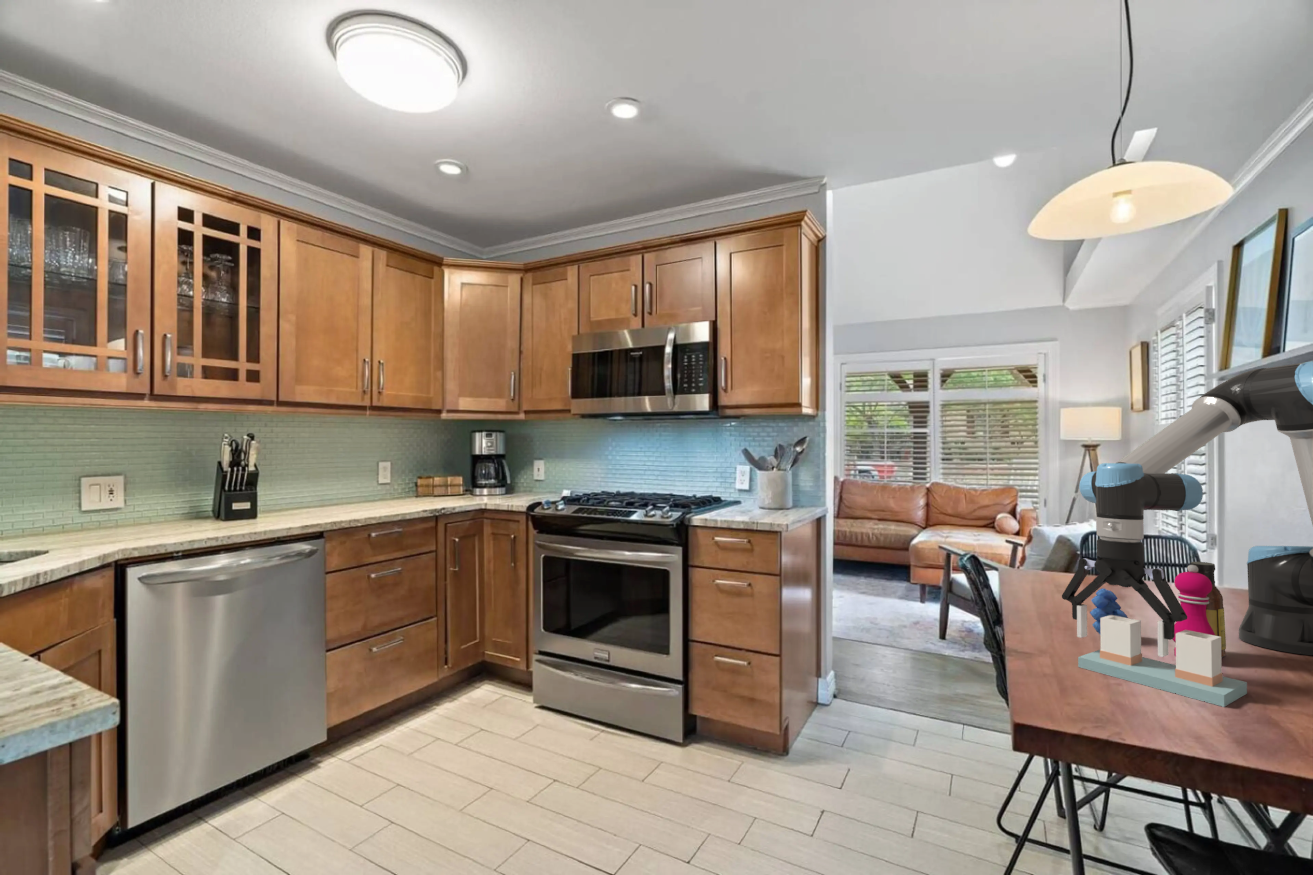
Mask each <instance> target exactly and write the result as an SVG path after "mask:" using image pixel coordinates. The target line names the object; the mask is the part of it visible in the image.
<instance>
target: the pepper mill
mask: <svg viewBox="0 0 1313 875" xmlns="http://www.w3.org/2000/svg"><path fill="white" fill-rule="evenodd" d="M1197 572H1198V567H1197V566H1195V565H1190V564H1188V566H1187V571H1183V572H1180V573H1178V574H1177V575H1176V576H1175V578H1174V582H1173V583H1174V587H1175V588H1176V589H1177V590H1178V592H1179V593H1177V600H1178V601H1180V602H1179V603H1180V605H1181V606H1182V608H1183V610H1184V612H1185V613H1186V615H1187V619H1186V620H1183V621H1180V622H1179V621H1178V622H1175V624H1174V628H1175V633H1174V634H1175V637H1174V638H1173V639H1172V641H1173V642H1174V643H1175V644H1176V633H1178V632H1181V631H1184V630H1190V631H1195V632H1200V633H1205V634H1210V635H1215V633H1214V631H1213V629H1212V628H1211V626H1210V624H1209V622H1208V619H1207V616H1206V606H1207V604H1209V602H1208V601H1209V600H1208V599H1209V597H1207V595H1208V594H1209V593H1210V592H1211V590H1212V583H1211V581H1210V579H1209V578H1208V577H1206V576H1205V575H1203V574H1200V573H1197ZM1173 650H1174V656H1175V658H1176V646H1175V647H1174V649H1173Z"/></svg>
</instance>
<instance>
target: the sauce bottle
mask: <svg viewBox="0 0 1313 875" xmlns="http://www.w3.org/2000/svg"><path fill="white" fill-rule="evenodd" d="M1189 565H1195V566H1197V567H1198V572H1197V573H1200V574H1203V575H1205V576H1206V577H1208V578H1209V579H1210V581H1211V583H1212V590H1211V592H1210V593H1209V594H1208V595H1207V597H1209V599H1208V600H1209V601H1208V602H1209V604H1207V606H1206V616H1207V619H1208V622H1209V624H1210V626H1211V628H1212V629H1213V631H1214V633H1215V636H1220V637H1221V658H1224V657H1226V654H1227V653H1226V649H1227V641H1226V640H1227V638H1226V622H1225V607H1224V598H1223V594H1222V593H1221V591H1220V590H1219V589H1218V587H1217V586H1216V580H1215V579H1216V578H1215V571H1216V565H1215V563H1212V562H1206V561H1191V562H1190V564H1189Z"/></svg>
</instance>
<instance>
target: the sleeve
mask: <svg viewBox="0 0 1313 875" xmlns="http://www.w3.org/2000/svg"><path fill="white" fill-rule="evenodd" d="M1100 632H1101V636H1100V649H1101V650H1100V649H1099V650H1100V658H1103V659H1107V660H1111V661H1115V662H1119V663H1122V664H1126V665H1130V666H1131V665H1134V664H1136V663H1139V662H1142V657H1143V653H1142V620H1139V619H1136V618H1135V619H1134V618H1129V617H1128V618H1125V617H1120V616H1115V615H1109V616H1105V617H1102V618H1100Z"/></svg>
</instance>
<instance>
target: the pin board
mask: <svg viewBox="0 0 1313 875" xmlns="http://www.w3.org/2000/svg"><path fill="white" fill-rule="evenodd" d="M1100 650H1101V648H1100V649H1098V650H1094V651H1092V652H1088V653H1086V654H1082V655H1080V656H1078V657H1077V658H1078V660H1077V662H1078V663H1077V664H1078V665H1077V667H1078V668H1081V669H1084V670H1088V671H1092V672H1095V673H1099V674H1103V675H1107V676H1109V677H1110V676H1111V677H1113V678H1117V679H1121V680H1125V681H1128V682H1132V683H1134V684H1135V683H1136V684H1140V685H1143V686H1145V687H1146V686H1147V687H1150V688H1154V689H1157V690H1160V689H1161V691H1164V692H1168V693H1172V694H1175V693H1176V694H1175V695H1180V696H1183V697H1187V698H1191V699H1193V700H1198V701H1200V702H1201V701H1202V702H1204V701H1205V703H1207V704H1208V703H1209V704H1212V705H1216V706H1219V707H1222V708H1225V707H1226V706H1228V705H1231V704H1232V703H1233V702H1235V701H1238V699H1240V698H1241V697H1243V696H1245V695H1247V694H1248V682H1247V681H1243V680H1239V679H1235V678H1232V677H1227V676H1223V681H1222V682H1220V683H1218V684H1216V685H1215V686H1213V687H1212V686H1208V685H1204V684H1200V683H1196V682H1192V681H1189V680H1185V679H1181V678H1177V677H1175V669H1176V664H1173V663H1170V662H1169V663H1168V662H1166V661H1161V660H1157V659H1152V658H1149V657H1145V656H1142V662H1139V663H1136V664H1134V665H1131V666H1130V665H1126V664H1122V663H1119V662H1115V661H1111V660H1107V659H1103V658H1100Z"/></svg>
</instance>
